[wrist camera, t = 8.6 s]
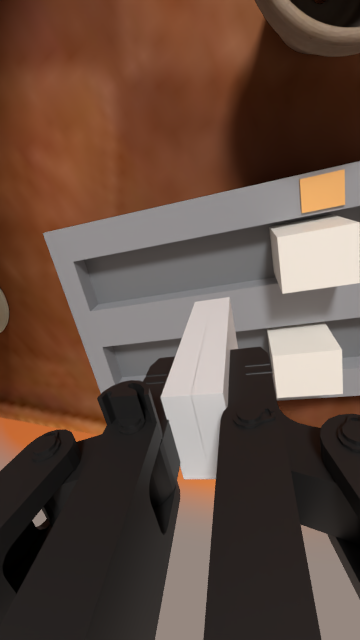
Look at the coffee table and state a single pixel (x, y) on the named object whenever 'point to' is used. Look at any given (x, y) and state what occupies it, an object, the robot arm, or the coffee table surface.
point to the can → (3, 311)
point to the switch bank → (202, 273)
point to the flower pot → (315, 25)
